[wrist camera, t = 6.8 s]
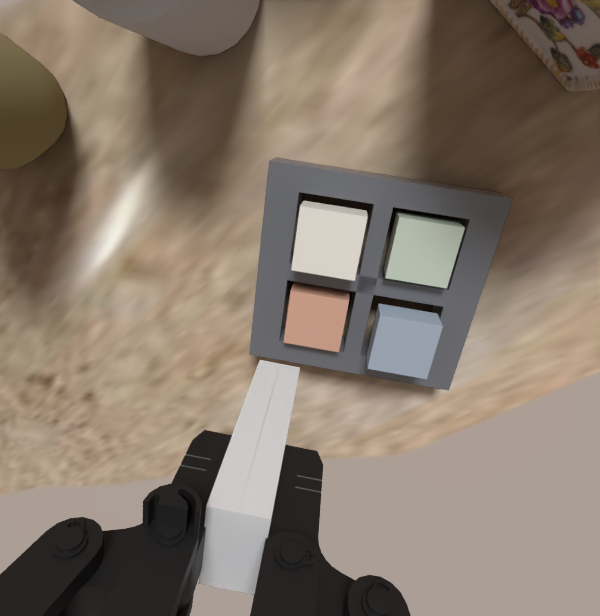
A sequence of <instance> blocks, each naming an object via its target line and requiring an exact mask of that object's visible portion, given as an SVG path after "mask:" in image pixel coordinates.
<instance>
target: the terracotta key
mask: <svg viewBox="0 0 600 616" xmlns="http://www.w3.org/2000/svg"><path fill="white" fill-rule="evenodd" d="M348 304H349V291H348V290H342V289H336V288H330V287H324V286H319V285H313V284H307V283H301V282H295V281H294V283H293V286H292V288H291V291H290V299H289V306H288V313H287V320H286V328H285V335H284V342H283V343H289V344H295V345H300V346H306V347H312V348H317V349H323V350H328V351H334V352H339V349H340V344H341V339H342V334H343V329H344V324H345V319H346V314H347V309H348Z"/></svg>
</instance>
